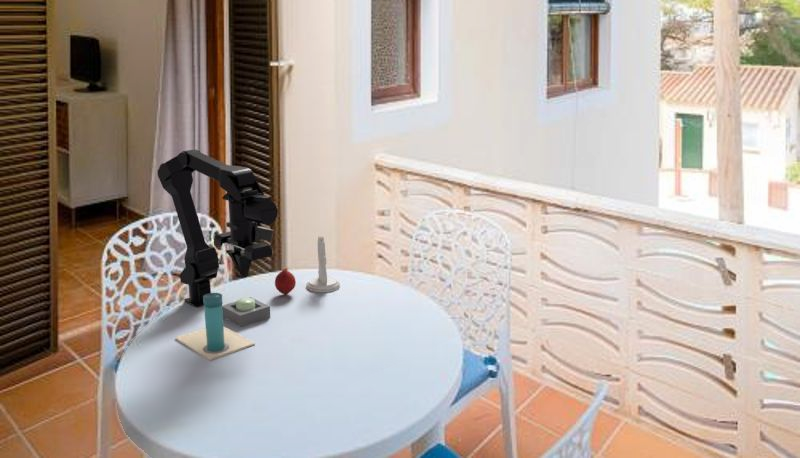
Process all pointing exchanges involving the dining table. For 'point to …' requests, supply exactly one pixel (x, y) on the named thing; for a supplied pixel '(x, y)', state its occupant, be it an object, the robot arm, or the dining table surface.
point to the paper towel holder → (322, 273)
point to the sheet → (199, 343)
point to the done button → (245, 304)
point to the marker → (214, 321)
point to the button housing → (246, 313)
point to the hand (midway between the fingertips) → (244, 277)
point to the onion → (285, 282)
